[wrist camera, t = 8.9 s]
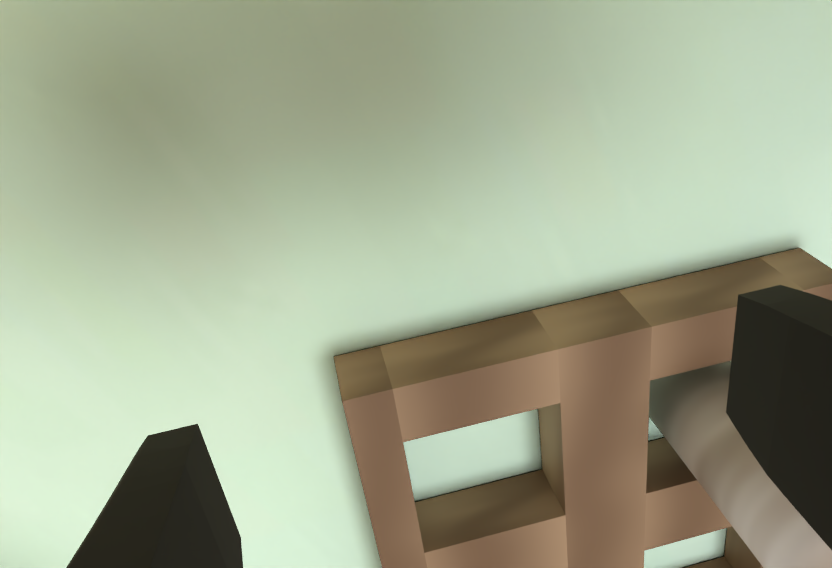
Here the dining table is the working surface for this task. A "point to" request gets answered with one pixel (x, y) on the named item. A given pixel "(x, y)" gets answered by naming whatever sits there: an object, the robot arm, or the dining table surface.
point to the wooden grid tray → (583, 431)
